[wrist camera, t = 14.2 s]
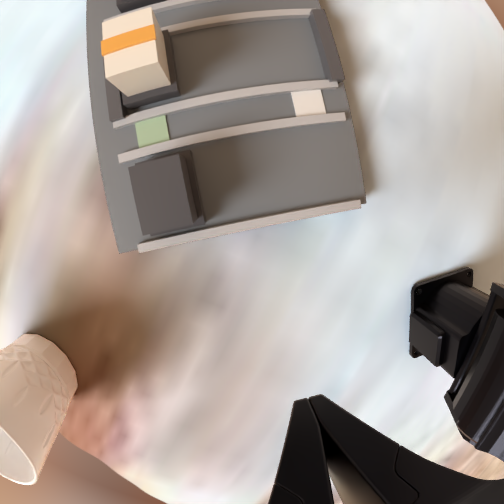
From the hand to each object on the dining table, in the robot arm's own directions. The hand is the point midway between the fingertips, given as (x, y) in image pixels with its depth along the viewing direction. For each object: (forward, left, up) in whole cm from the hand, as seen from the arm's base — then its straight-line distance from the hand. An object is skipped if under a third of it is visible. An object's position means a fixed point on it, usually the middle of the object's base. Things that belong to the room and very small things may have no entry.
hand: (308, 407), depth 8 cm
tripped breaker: (+4, -14, -10) cm, 18 cm away
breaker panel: (0, -14, -12) cm, 18 cm away
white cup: (+19, +4, -12) cm, 23 cm away
